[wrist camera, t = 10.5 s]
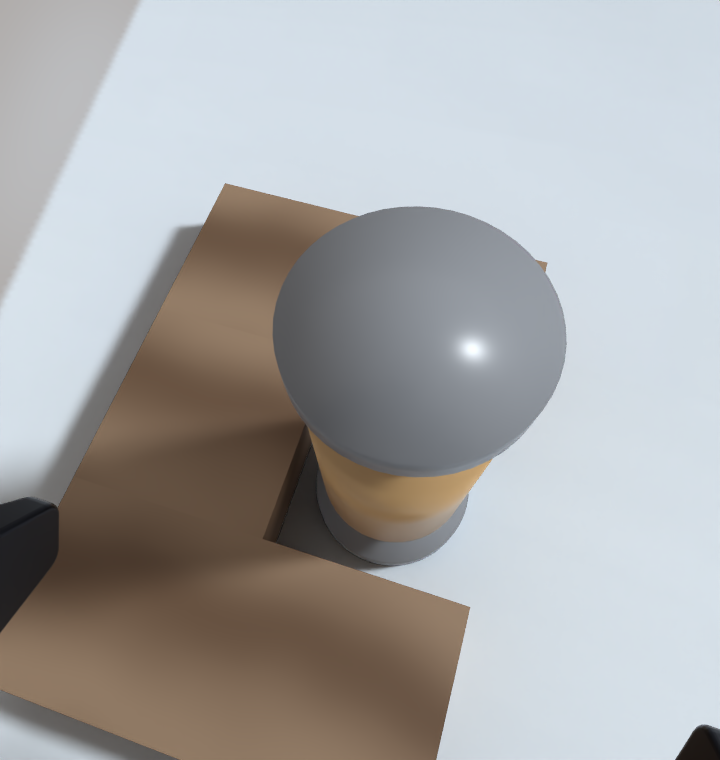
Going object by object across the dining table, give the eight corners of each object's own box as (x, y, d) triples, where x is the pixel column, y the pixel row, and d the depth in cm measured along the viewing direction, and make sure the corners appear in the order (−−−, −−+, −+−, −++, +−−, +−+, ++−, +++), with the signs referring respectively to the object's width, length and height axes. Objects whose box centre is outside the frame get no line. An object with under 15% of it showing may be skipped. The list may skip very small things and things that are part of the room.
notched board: (409, 823, 18) (415, 852, 16) (15, 672, 20) (-31, 677, 18) (531, 295, 26) (547, 262, 23) (237, 220, 27) (225, 183, 25)
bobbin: (444, 586, 21) (547, 522, 9) (298, 538, 22) (211, 420, 10) (478, 442, 23) (599, 236, 11) (344, 404, 24) (320, 171, 12)
